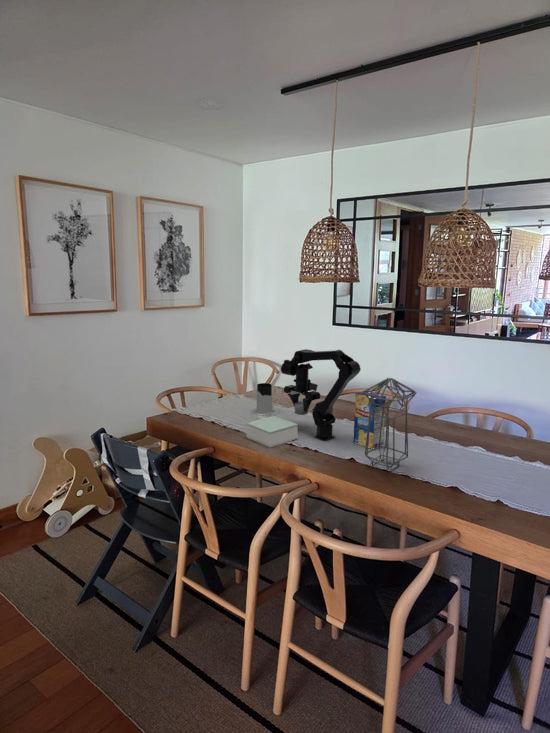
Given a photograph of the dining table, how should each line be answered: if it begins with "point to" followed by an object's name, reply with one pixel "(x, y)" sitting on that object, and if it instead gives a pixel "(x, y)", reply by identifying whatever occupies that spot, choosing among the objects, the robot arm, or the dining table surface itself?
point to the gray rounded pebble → (300, 408)
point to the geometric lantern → (380, 386)
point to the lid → (271, 424)
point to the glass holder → (265, 398)
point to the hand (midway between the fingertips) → (301, 410)
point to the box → (271, 436)
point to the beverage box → (363, 419)
